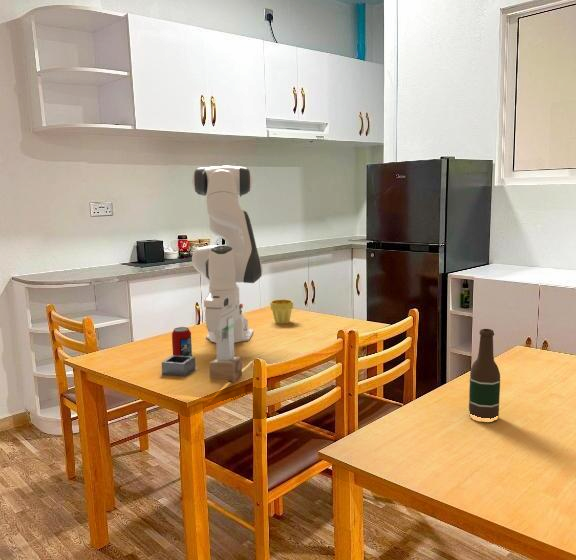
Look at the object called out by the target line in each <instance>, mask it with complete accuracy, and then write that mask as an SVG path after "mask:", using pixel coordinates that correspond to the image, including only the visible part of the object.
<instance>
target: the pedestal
mask: <svg viewBox="0 0 576 560" xmlns="http://www.w3.org/2000/svg"><path fill="white" fill-rule="evenodd" d="M242 364H243V363H242V356H234V359H232V360H231V361H230V362H226V361H217V356H216V357H215V358H213V360H210V362H209V378H210V379H221V380H222V379H223V380H228V381H227V383H234V382H236V381H237V380H238V379H239V378H240V377H241V376H242V375H243V368H242V367H243V365H242Z"/></svg>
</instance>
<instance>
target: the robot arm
mask: <svg viewBox="0 0 576 560" xmlns="http://www.w3.org/2000/svg"><path fill="white" fill-rule="evenodd" d="M250 171H251V170H249V168H247V167H245V166H234V165H222V166H219V165H218V166H209V167H205V166H203V167H197V168H196V169H195V170H194V173H193V175H192V187H193V190H194V192H195V193H196V194H197V195H198V196H199V195H200V196H204V197H206V208H207V209H206V210H207V214H208V216H209V230H210V232H211V233H212V234H213V235H215V236H217V237H219V238H221V239H223V240H224V241H225V244H215V245H205V246H199V247H197V248H195V250H194V251H193V253H192V256H191V263H192V266H193V268H194V269H195V270H196V271H197V272H198V273H199V274H201V275H202V276H203V277H204V278H205V279H206V281H207V282H208V284H209V285H208V291H209V293H207V296H206V298H205V299H204V301H203V307H204V308H205V326H206V327H205V328H206V329H207V331H208V334H207V335H205V339H207V340H209V341H210V342H211V343H215V344H216V343H221V342H223V337H222V335H221V332H222V329H223V328H225V327H226V326H227V319H228V318H230V317H232V316H233V323H234V327H233V329H234V344H235V343H239V342H247V341H250V339H251V337H252V336H253V334H254V329H252V328H249V323H248V319H247V318H246V317H245V316H244V314H242V313H243V310H242V309H243V307H244V304H243V303H240V287H239V286H238V284H237V283H245V284H255V282H257V281H259V279H260V278H261V277H262V274H263V264H262V261H261V257H260V255H259V252H258V248H257V243H256V239H255V235H254V231H253V226H252V223H251V218H250V217H249V216H250V215H249V213H248V212H247V211H246V210H244V209H242V207H241V206H240V203H239V197H240V198H242V196H244V195H247V194H248V193H249V192H250V191H251V188H252V185H253V177H252V174H251V172H250Z"/></svg>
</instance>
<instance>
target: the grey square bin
mask: <svg viewBox="0 0 576 560" xmlns="http://www.w3.org/2000/svg"><path fill="white" fill-rule="evenodd" d="M199 368H200V367H199V366H196V357H195V356H193V355H192V356H179V355H173V354H172V355H171V356H169V357H168V358H165V360H163V361H161V372H160V373H159V374H158V375H159V376H170V377H171V376H172V377H183V378H187V377H188V376H189V375H191V374H192V373H193V372H195V371H196V370H197V369H199Z"/></svg>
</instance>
